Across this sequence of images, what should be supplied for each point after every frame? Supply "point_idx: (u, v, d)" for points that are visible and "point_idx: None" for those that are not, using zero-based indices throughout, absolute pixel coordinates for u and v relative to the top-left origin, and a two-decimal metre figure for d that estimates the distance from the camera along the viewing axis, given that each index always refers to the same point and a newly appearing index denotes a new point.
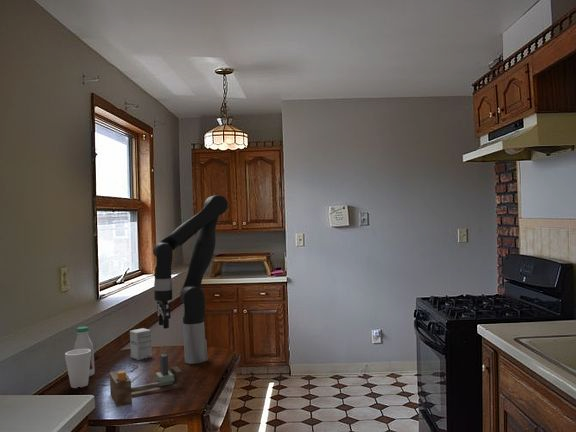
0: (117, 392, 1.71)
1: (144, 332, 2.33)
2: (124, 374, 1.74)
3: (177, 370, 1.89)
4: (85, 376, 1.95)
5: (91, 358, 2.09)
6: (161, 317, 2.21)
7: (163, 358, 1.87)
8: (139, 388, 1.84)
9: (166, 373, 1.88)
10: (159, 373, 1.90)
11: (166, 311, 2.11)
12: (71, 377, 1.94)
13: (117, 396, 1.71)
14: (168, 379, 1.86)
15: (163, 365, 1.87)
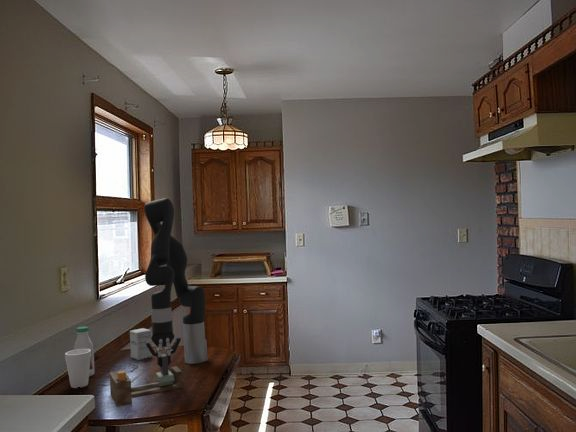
0: (117, 392, 1.71)
1: (144, 332, 2.33)
2: (124, 374, 1.74)
3: (177, 370, 1.89)
4: (85, 376, 1.95)
5: (91, 358, 2.09)
6: None
7: (163, 358, 1.87)
8: (139, 388, 1.84)
9: (166, 373, 1.88)
10: (159, 373, 1.90)
11: None
12: (71, 377, 1.94)
13: (117, 396, 1.71)
14: (168, 379, 1.86)
15: (163, 365, 1.87)
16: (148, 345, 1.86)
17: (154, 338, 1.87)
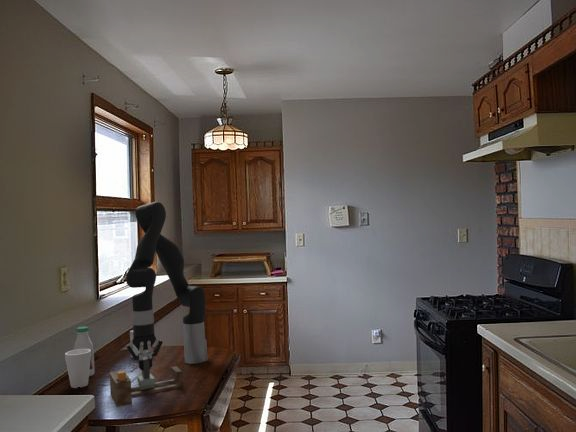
0: (117, 392, 1.71)
1: None
2: (124, 374, 1.74)
3: (177, 370, 1.89)
4: (85, 376, 1.95)
5: (91, 358, 2.09)
6: None
7: (144, 361, 1.84)
8: (139, 388, 1.84)
9: (147, 376, 1.84)
10: (140, 376, 1.87)
11: None
12: (71, 377, 1.94)
13: (117, 396, 1.71)
14: (149, 383, 1.83)
15: (144, 368, 1.84)
16: (129, 348, 1.83)
17: (135, 341, 1.84)
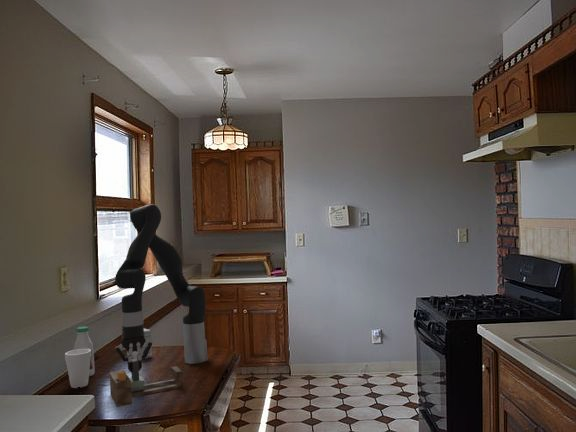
0: (117, 392, 1.71)
1: (144, 332, 2.33)
2: (124, 374, 1.74)
3: (177, 370, 1.89)
4: (85, 376, 1.95)
5: (91, 358, 2.09)
6: (131, 362, 1.84)
7: (134, 363, 1.82)
8: None
9: (137, 378, 1.83)
10: (130, 378, 1.85)
11: None
12: (71, 377, 1.94)
13: (117, 396, 1.71)
14: (139, 385, 1.82)
15: (134, 370, 1.82)
16: (118, 350, 1.81)
17: (124, 342, 1.82)
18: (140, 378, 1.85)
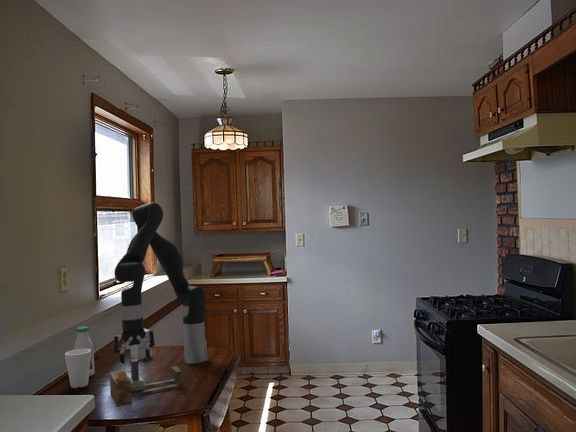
0: (117, 392, 1.71)
1: None
2: (124, 374, 1.74)
3: (177, 370, 1.89)
4: (85, 376, 1.95)
5: (91, 358, 2.09)
6: None
7: (133, 363, 1.82)
8: None
9: (136, 378, 1.83)
10: (130, 378, 1.85)
11: None
12: (71, 377, 1.94)
13: (117, 396, 1.71)
14: (138, 385, 1.81)
15: (133, 370, 1.82)
16: (116, 339, 1.80)
17: (125, 335, 1.82)
18: (140, 378, 1.85)
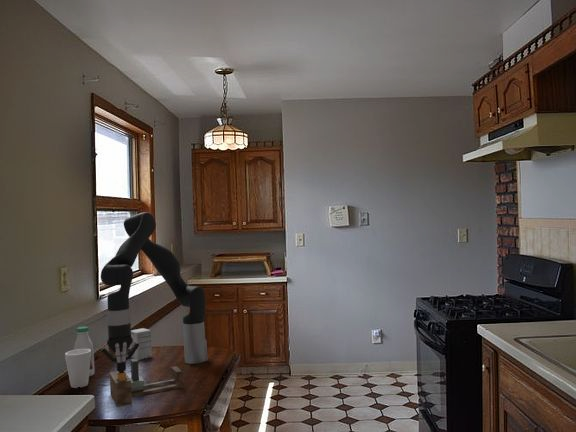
0: (117, 392, 1.71)
1: (144, 332, 2.33)
2: (124, 374, 1.74)
3: (177, 370, 1.89)
4: (85, 376, 1.95)
5: (91, 358, 2.09)
6: None
7: (133, 363, 1.82)
8: None
9: (136, 378, 1.83)
10: (130, 378, 1.85)
11: None
12: (71, 377, 1.94)
13: (117, 396, 1.71)
14: (138, 385, 1.81)
15: (133, 370, 1.82)
16: (104, 351, 1.71)
17: (110, 342, 1.72)
18: (140, 378, 1.85)
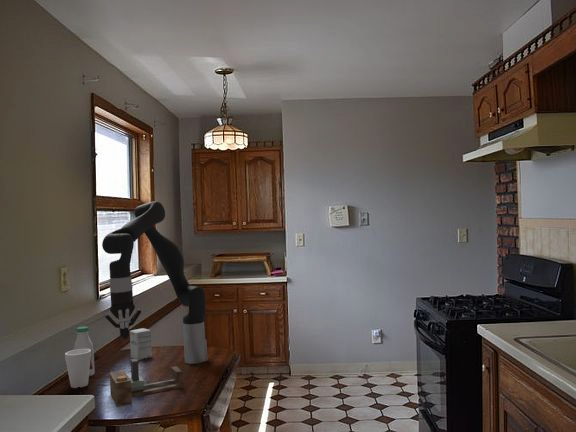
0: (117, 392, 1.71)
1: (144, 332, 2.33)
2: (124, 379, 1.74)
3: (177, 370, 1.89)
4: (85, 376, 1.95)
5: (91, 358, 2.09)
6: None
7: (133, 363, 1.82)
8: None
9: (136, 378, 1.83)
10: (130, 378, 1.85)
11: None
12: (71, 377, 1.94)
13: (117, 396, 1.71)
14: (138, 385, 1.81)
15: (133, 370, 1.82)
16: (107, 317, 1.76)
17: (113, 309, 1.77)
18: (140, 378, 1.85)
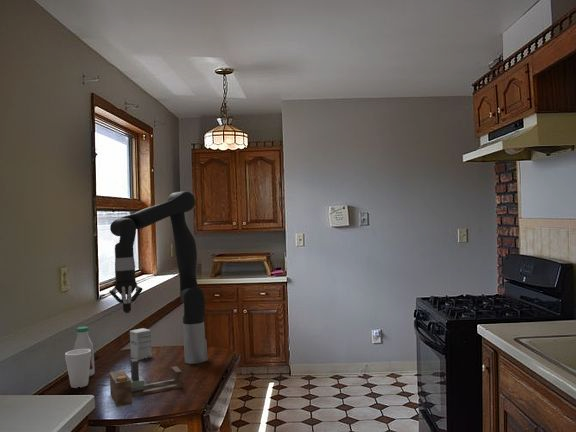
0: (117, 392, 1.71)
1: (144, 332, 2.33)
2: (124, 379, 1.74)
3: (177, 370, 1.89)
4: (85, 376, 1.95)
5: (91, 358, 2.09)
6: None
7: (133, 363, 1.82)
8: None
9: (136, 378, 1.83)
10: (130, 378, 1.85)
11: None
12: (71, 377, 1.94)
13: (117, 396, 1.71)
14: (138, 385, 1.81)
15: (133, 370, 1.82)
16: (112, 293, 1.96)
17: (117, 286, 1.97)
18: (140, 378, 1.85)
